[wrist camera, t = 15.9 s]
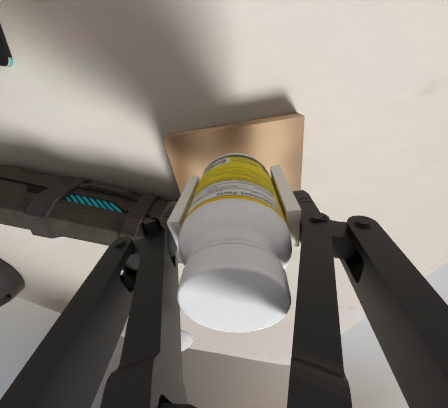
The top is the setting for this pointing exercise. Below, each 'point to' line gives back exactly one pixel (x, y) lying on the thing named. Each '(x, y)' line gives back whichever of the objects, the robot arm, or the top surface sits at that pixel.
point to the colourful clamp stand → (4, 51)
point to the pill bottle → (235, 249)
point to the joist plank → (240, 147)
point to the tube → (74, 207)
